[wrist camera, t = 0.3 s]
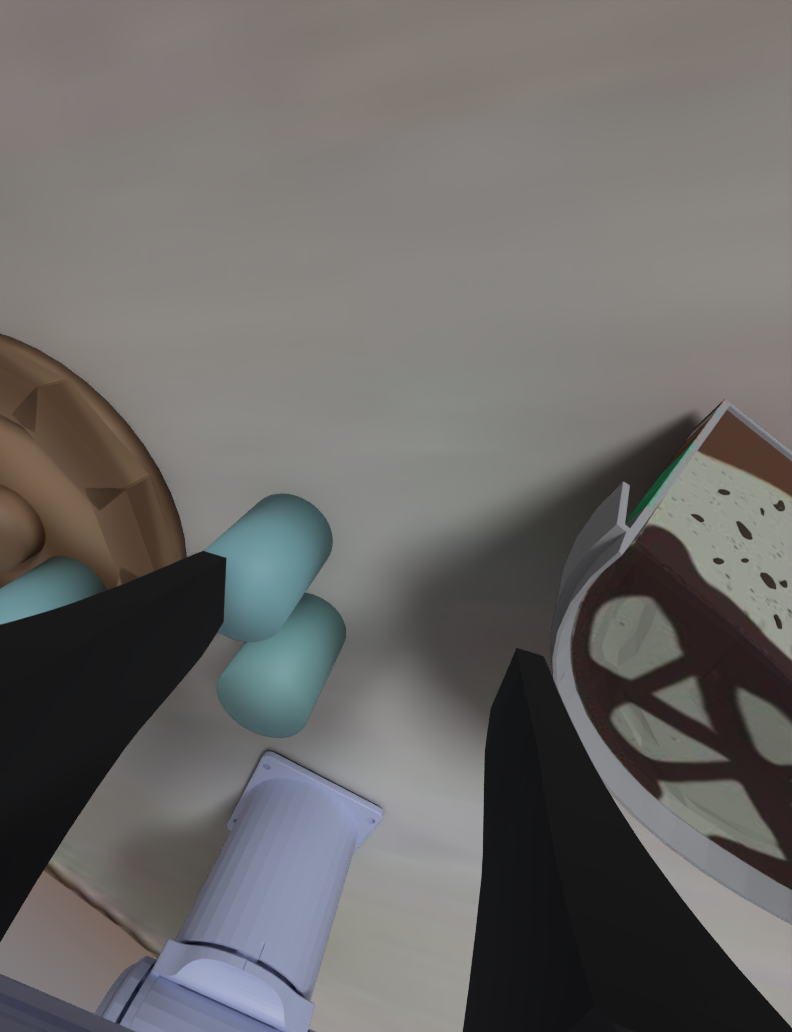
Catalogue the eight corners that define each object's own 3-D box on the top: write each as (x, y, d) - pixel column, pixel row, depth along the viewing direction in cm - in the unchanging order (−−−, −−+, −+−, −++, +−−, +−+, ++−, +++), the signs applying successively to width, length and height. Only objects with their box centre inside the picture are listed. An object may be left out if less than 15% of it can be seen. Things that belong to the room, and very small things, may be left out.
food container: (562, 485, 20) (439, 652, 13) (686, 367, 16) (595, 531, 9) (814, 702, 19) (818, 1009, 12) (1032, 641, 14) (1232, 1081, 8)
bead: (315, 585, 23) (268, 658, 19) (240, 546, 23) (175, 610, 19) (345, 521, 22) (301, 585, 17) (263, 477, 22) (198, 531, 17)
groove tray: (153, 697, 30) (124, 731, 28) (-114, 559, 30) (-164, 582, 28) (225, 446, 21) (191, 467, 19) (-154, 248, 21) (-233, 246, 19)
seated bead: (105, 632, 27) (24, 703, 22) (38, 597, 27) (-56, 662, 22) (114, 579, 25) (28, 646, 20) (43, 542, 25) (-59, 601, 20)
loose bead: (329, 669, 26) (290, 751, 21) (260, 633, 26) (207, 708, 21) (358, 617, 24) (321, 696, 19) (284, 578, 24) (230, 648, 19)
